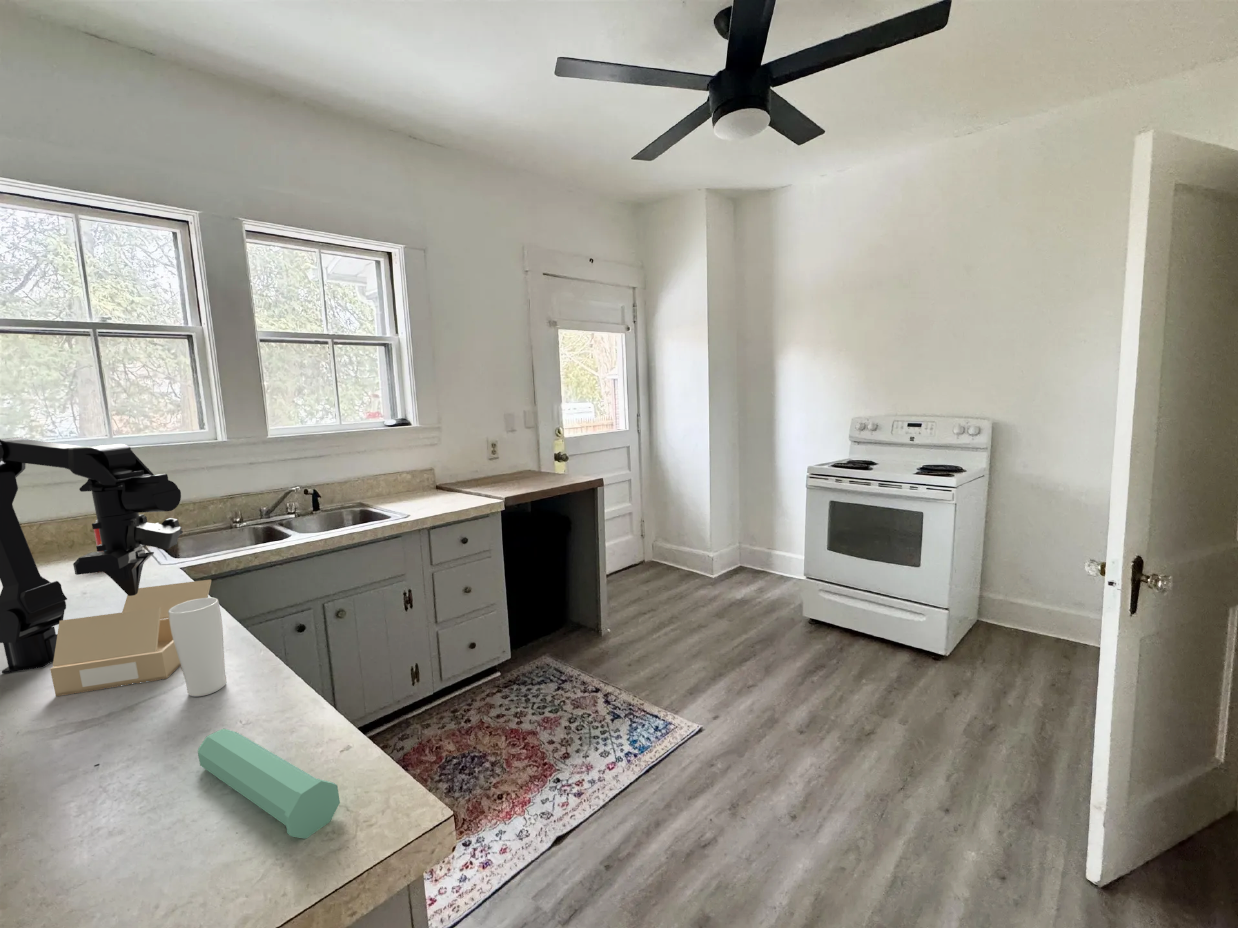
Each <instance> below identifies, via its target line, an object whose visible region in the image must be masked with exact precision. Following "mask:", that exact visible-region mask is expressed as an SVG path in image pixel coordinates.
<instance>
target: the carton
mask: <svg viewBox="0 0 1238 928" xmlns="http://www.w3.org/2000/svg"><path fill="white" fill-rule="evenodd" d="M180 667H181V665H180V661H179V658H178V655H177V651H176V648H175V645H174V641H173V638H172V633H171V629H170V622H169V618H166V619H160V624H159V635H158V645H157V651H156V652H149V653H142V654H136V655H129V656H122V657H115V658H109V659H102V660H95V661H88V662H82V663H75V664H68V665H61V666H52V667H51V668H49V670H50V675H51V680H52V684H53V689H54V694H55V697H61V696H62V697H63V696H66V695H73V694H74V693H75V694H80V692H81V693H87V692H92V691H93V690H94V691H100V690H105V689H104V688H106V689H111V687H112V688H117V687H118V686H119V687H122V686H121V685H125V686H129V685H128V684H131V685H133V684H132V683H137V684H141V683H140V682H144V683H147V682H146V681H150V682H155V681H161V679H162V680H167V679H168V678H169V677H171V675H172V674H173V673H175V671H176V670H178V668H180Z"/></svg>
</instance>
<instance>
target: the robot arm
mask: <svg viewBox="0 0 1238 928" xmlns="http://www.w3.org/2000/svg"><path fill="white" fill-rule="evenodd" d="M26 464H28V465H29V464H30V465H36V466H45V467H52V468H62V469H66V470H69V471H71V473H72V474H74V475H75V476H79V477H81V478H85V479H87V481H86V482H85V483H84V484H82V485H81V486H80V487H79V492H91V496H92V501H93V506H94V511H95V517H96V520H97V522H93V523H91V527H92V530H94V529H99V532H100V537H101V542H102V544H100V545H98V546H97V545H96V551H94V552H93V551H92V552H89V553H87V554H84V555H82V556H80V557H78V558H77V559H76V560H74V561H75V562H73V563H72V565H73V571H74V575H76V576H79V575H86V574H94V573H95V574H96V573H102V572H103V573H104V574H105V575H107V576H108V577H109V578H110V579H111V580H112V581H113V582H115V584H116V585H117V586H118V587H119V588H120V589H121V590H122V591H123V592H124V593H125V594H126V595H128V596H133V595H136V594H137V593H138V588H140V583H141V577H142V571H143V567H144V565H145V563H146V562H147V561H148V560H149V559H150V558H151V557H152V556H153V555H154V553H155V552H154V551H150V552H146V550H145V549H143V548H144V547H146V546H147V547H153V548H157V549H158V550H169V549H171V547H173V546H176V545H177V544H178V540H179V538H180V536H181V535H182V534H183V533H184V531H183V530H182V526H181V525H180V523H179V519H177V518H173V517H168V518H167V519H164V521H162V522H161V523H160V522H155V523H153V522H148V519H147V516H146V515H145V514H140V513H160V512H161V513H162V512H171V511H174V510H175V509H176V508H177V507H178V506H179V504H180V502H181V499H182V493H181V490H180V488H179V487H178V485H177V484H176V483H175V482H174V481H172V480H169V477H168V474H167V473H158V474H155V475H154V473H153V472H152V470H150V468H148V466H146V464H145V463H144V462H143V461H142V460H141V459H140V458H139V457H138V456H137V455H136V454H135V453H134V451H133V450H132V449H131V447H130V446H129V445H127V444H123V443H114V444H99V445H87V446H86V445H73V444H65V443H58V442H50V441H42V440H35V439H34V440H33V439H27V438H24V437H20V436H19V437H5V438H0V583H1V586H2V588H1V591H0V644H3V649H4V653H5V657H6V662H7V667H6V668H3V669H2V670H1V673H2V674H8V673H15V672H19V671H20V672H21V671H27V670H35V669H39V668H40V669H42V668H45V667H46V666H48V665H50V664H51V663H53V661H54V654H55V648H56V641H57V634H58V633H56V629H55V628H56V627H55V626H59V621H61V620H64V616H65V611H66V609H67V602H66V601H67V600H68V597H67V596H66V595H65V593H64V591H63V589H62V584H61V582H59V581H58V580H55V581H52V582H51V581H50V580H48V579H47V578H45V577H43V576H42V575H41V574H40V573H41V572H40V571H39V569H38V566H37V564H36V561H35V559H34V556H33V553H32V551H31V549H30V546H29V543H28V541H27V539H26V536H25V534H24V531H23V529H22V525H21V523H20V521H19V518H18V516H17V513H16V511H15V507H14V505H13V503H14V500H15V498H16V496H17V493H18V490H19V487H18V486H19V485H18V482H17V478H18V477H19V476H20V474H21V473H23V472H24V471H26ZM98 551H100V552H98Z"/></svg>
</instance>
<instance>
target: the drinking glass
mask: <svg viewBox="0 0 1238 928" xmlns="http://www.w3.org/2000/svg"><path fill="white" fill-rule="evenodd" d="M168 613H169V622H170V629H171V633H172V638H173V641H174V645H175V648H176V651H177V655H178V658H179V661H180V667H181V670H182V675H183V679H184V680H185V681H184V682H185V684H186V685H185V686H186V687H185V688H186V691H187V694H188V695H189V696H191V697H198V698H199V697H203V696H208V695H211V694H213V693H215V692H218V691H219V690H221V689H223V688H224V686H225V685H226V684H227V675H226V666H225V665H226V664H225V662H226V661H225V647H224V628H223V627H224V626H223V618H222V611H221V606H220V602H219V598H216V597H208V598H200V599H195V600H190V601H187V602H183V603H180V604H178V605H176V606H174V607H172V608H170V609H169V611H168Z"/></svg>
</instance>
